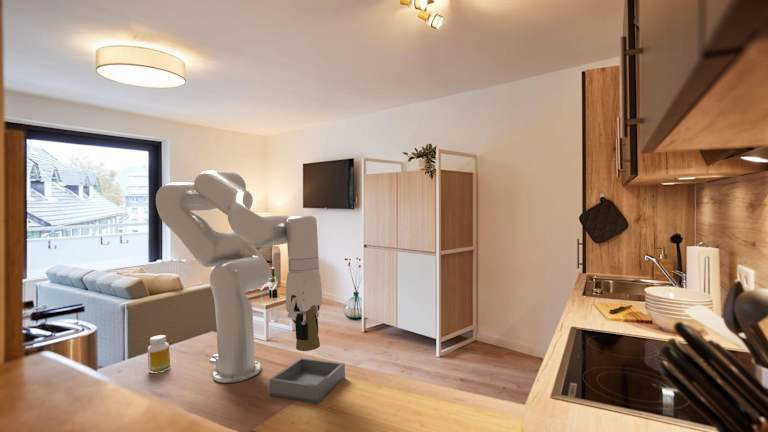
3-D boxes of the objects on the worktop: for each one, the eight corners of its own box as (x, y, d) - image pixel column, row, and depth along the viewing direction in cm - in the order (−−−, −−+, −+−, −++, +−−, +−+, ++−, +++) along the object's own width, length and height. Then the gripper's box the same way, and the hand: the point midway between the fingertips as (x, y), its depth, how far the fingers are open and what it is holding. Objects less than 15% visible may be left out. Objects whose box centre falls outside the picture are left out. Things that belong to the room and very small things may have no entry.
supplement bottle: (174, 368, 111) (172, 335, 110) (154, 375, 106) (152, 341, 106) (164, 364, 114) (162, 332, 113) (145, 371, 109) (143, 338, 109)
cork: (314, 351, 92) (312, 306, 92) (291, 350, 94) (289, 306, 93) (323, 342, 98) (321, 300, 98) (301, 341, 100) (299, 300, 99)
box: (270, 395, 92) (269, 379, 92) (301, 371, 105) (300, 357, 105) (318, 404, 88) (317, 387, 87) (345, 378, 100) (344, 363, 100)
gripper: (309, 259, 105) (312, 325, 105) (270, 270, 89) (274, 347, 89) (333, 259, 102) (336, 327, 102) (297, 270, 86) (301, 350, 87)
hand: (307, 335), depth 96 cm, fingers closed on cork, 4 cm apart
